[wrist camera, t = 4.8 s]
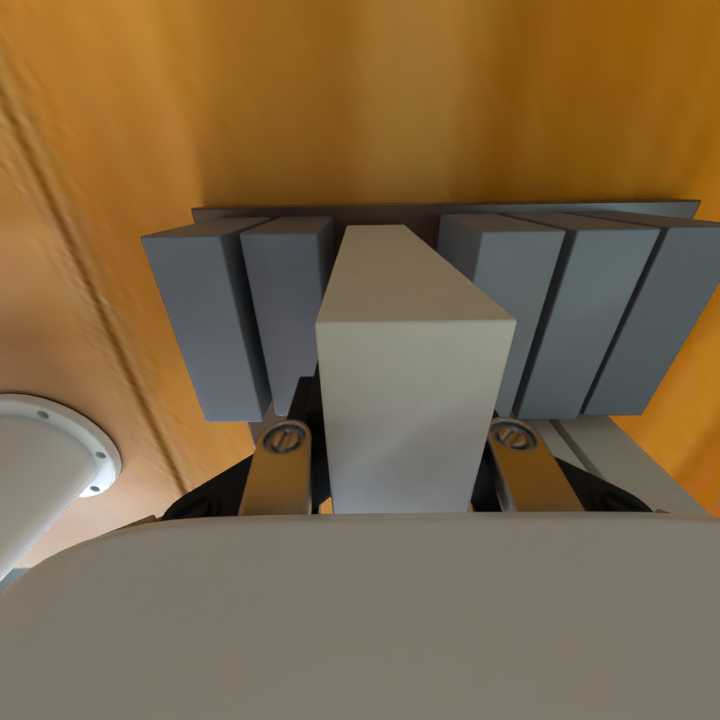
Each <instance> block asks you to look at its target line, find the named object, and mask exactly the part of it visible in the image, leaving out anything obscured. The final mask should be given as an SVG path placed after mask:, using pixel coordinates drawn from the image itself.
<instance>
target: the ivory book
mask: <svg viewBox="0 0 720 720" xmlns="http://www.w3.org/2000/svg"><path fill="white" fill-rule="evenodd" d="M516 323H517V322H516V319H515V318H514V317H512V316H511V315H510V314H509V313H508V312H506V311H505V310H504V309H503V308H502V307H501V306H499V305H498V304H497V303H496V302H495V301H493V300H492V299H491V298H490V297H489V296H488V295H486V294H485V293H484V292H483V291H482V290H480V289H479V288H478V287H477V286H476V285H475V284H473V283H472V282H471V281H470V280H469V279H467V278H466V277H465V276H464V275H463V274H462V273H460V272H459V271H458V270H457V269H456V268H454V267H453V266H452V265H451V264H450V263H449V262H447V261H446V260H445V259H444V258H443V257H441V256H440V255H439V254H438V253H437V252H436V251H434V250H433V249H432V248H431V247H430V246H428V245H427V244H426V243H425V242H424V241H423V240H421V239H420V238H419V237H418V236H417V235H415V234H414V233H413V232H412V231H411V230H410V229H408V228H407V227H406V226H405V225H353V226H347V227H346V230H345V234H344V237H343V240H342V243H341V246H340V249H339V252H338V255H337V258H336V261H335V264H334V267H333V271H332V274H331V277H330V280H329V283H328V286H327V289H326V292H325V295H324V298H323V301H322V304H321V307H320V311H319V314H318V317H317V320H316V323H315V332H316V343H317V353H318V363H319V374H320V384H321V395H322V405H323V415H324V426H325V436H326V446H327V457H328V467H329V477H330V488H331V498H332V508H333V514H365V513H446V512H468V508H469V504H470V500H471V496H472V493H473V489H474V485H475V481H476V477H477V473H478V470H479V466H480V462H481V458H482V454H483V450H484V446H485V443H486V439H487V435H488V431H489V427H490V423H491V420H492V416H493V412H494V408H495V404H496V400H497V397H498V393H499V389H500V385H501V381H502V377H503V373H504V370H505V366H506V362H507V358H508V354H509V350H510V347H511V343H512V339H513V335H514V331H515V327H516Z"/></svg>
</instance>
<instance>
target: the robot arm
mask: <svg viewBox="0 0 720 720" xmlns="http://www.w3.org/2000/svg"><path fill="white" fill-rule="evenodd" d="M121 465H122V462H121V458H120V454H119V452H118V450H117V448H116V447H115V445H114V443H113V442H112V441H111V440H110V438H109V437H108V436H107V435H106V434H105V433H104V432H103V431H102V430H101V429H100V428H99V427H98V426H97V425H95V424H94V423H93V422H91V421H90V420H89V419H87V418H86V417H84V416H82V415H81V414H79V413H77V412H75V411H74V410H72V409H70V408H68V407H65V406H63V405H61V404H59V403H56V402H53V401H50V400H47V399H44V398H40V397H35V396H30V395H23V394H0V582H1V581H2V579H3V578H4V577H5V576H6V575H7V574H8V573H9V572H10V571H11V570H12V569H13V567H14V566H15V565H16V564H17V563H18V562H19V561H20V560H21V559H22V558H23V557H24V555H25V554H26V553H27V552H28V551H29V550H30V549H31V548H32V547H33V546H34V545H35V544H36V542H37V541H38V540H39V539H40V538H41V537H42V536H43V535H44V534H45V533H46V532H47V530H48V529H49V528H50V527H51V526H52V525H53V524H54V523H55V522H56V521H57V520H58V518H59V517H60V516H61V515H62V514H63V513H64V512H65V511H66V510H67V509H68V508H69V506H70V505H71V504H72V503H73V502H74V501H75V500H76V499H77V498H79V497H89V496H93V495H97V494H100V493H102V492H104V491H106V490H107V489H108V488H109V487H111V485H112V484H113V483H114V482H115V481H116V479H117V478H118V477H119V475H120V472H121ZM329 497H331V488H330V477H329V467H328V457H327V446H326V436H325V426H324V415H323V405H322V395H321V384H320V374H319V363H318V360H317V364H316V369H315V373H314V376H301V377H300V378H299V380H298V383H297V387H296V390H295V393H294V396H293V399H292V403H291V406H290V409H289V412H288V415H287V419H286V420H282V421H278V422H275V423H273V424H271V425H269V426H268V427H266V428H265V429H264V430H263V431H262V432H261V433H260V435H259V437H258V439H257V443H256V447H255V451H254V454H253V455H251V456H249V457H248V458H246V459H244V460H243V461H241V462H239V463H237V464H236V465H234V466H232V467H231V468H229V469H227V470H226V471H224V472H222V473H221V474H219V475H217V476H216V477H214V478H212V479H211V480H209V481H207V482H206V483H204V484H202V485H201V486H199V487H197V488H196V489H194V490H192V491H191V492H189V493H187V494H186V495H184V496H182V497H181V498H180V499H178V500H177V501H176V502H174V503H173V504H172V505H171V506H170V507H169V508H168V510H167V511H166V512H165V514H164V515H163V516H162V517H159V518H157V519H156V517H155V515H151V516H149V517H146V518H144V519H141V520H139V521H136V522H134V523H131V524H128V525H126V526H123V527H121V528H118V529H116V530H113V531H111V532H108V533H106V534H103V535H101V536H98V537H95V538H93V539H90V540H87V541H84V542H81V543H79V544H76V545H74V546H72V547H69V548H67V549H65V550H63V551H60V552H59V553H57V554H55V555H53V556H51V557H48V558H47V559H45V560H44V561H42V562H40V563H39V564H37V565H36V566H34V567H32V568H31V569H30V570H28V571H27V572H26V573H24V574H23V575H22V576H21V577H19V578H18V579H17V580H16V581H14V582H13V583H12V584H11V585H10V586H8V587H7V588H6V589H5V590H4V591H3V592H2V593H1V594H0V720H720V518H715V517H706V516H697V515H688V514H673V513H670V512H667V511H664V510H661V509H657V510H656V511H655V513H654V512H653V511H652V510H651V509H650V507H649V506H648V505H646V504H645V503H644V502H643V501H641V500H640V499H639V498H638V497H636V496H634V495H632V494H631V493H629V492H627V491H625V490H623V489H621V488H619V487H617V486H615V485H613V484H611V483H609V482H607V481H605V480H603V479H601V478H599V477H597V476H595V475H592V474H590V473H588V472H586V471H584V470H582V469H580V468H578V467H576V466H574V465H572V464H570V463H568V462H566V461H564V460H562V459H560V458H557V457H555V456H553V455H552V453H551V451H550V450H549V448H548V446H547V444H546V443H545V441H544V439H543V438H542V436H541V435H540V433H539V432H538V431H537V430H536V429H535V428H534V427H532V426H531V425H530V424H528V423H526V422H524V421H522V420H519V419H516V418H512V417H499V415H498V413H497V412H496V410H495V408H494V412H493V416H492V420H491V423H490V427H489V431H488V435H487V439H486V443H485V446H484V450H483V454H482V458H481V462H480V466H479V470H478V473H477V477H476V481H475V485H474V489H473V493H472V496H471V500H470V504H469V508H468V512H446V513H365V514H321V504H322V503H323V502H324V501H325V500H327V499H328V498H329Z"/></svg>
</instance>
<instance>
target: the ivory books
mask: <svg viewBox="0 0 720 720" xmlns="http://www.w3.org/2000/svg"><path fill="white" fill-rule="evenodd" d="M509 417H512V418H516V417H515V415H514V413H513V412H512V410H511V413H510V416H509ZM516 419H517V418H516ZM519 420H522V421H524V422H526V423H528V424H530V425H531V426H532V427H534V428H535V429H536V430H537V431H538V432H539V433H540V435H541V436H542V438H543V439H544V441H545V443H546V444H547V446H548V448H549V450H550V451H551V453H552V455H553V456H555V457H557V458H560V459H562V460H564V461H566V462H568V463H570V464H572V465H574V466H576V467H578V468H580V469H582V470H584V471H586V472H588V473H590V474H592V475H595V476H597V477H599V478H601V479H603V480H605V481H607V482H609V483H611V484H613V485H615V486H617V487H619V488H621V489H623V490H625V491H627V492H629V493H631V494H632V495H634V496H636V497H638V498H639V499H640V500H641V501H643V502H644V503H645V504H646V505H648V506H649V507H650V509H651V510H652V511H653V512H654V513H655V511H656V510H657V509H661V510H664V511H667V512H670V513H673V514H688V515H697V516H706V517H712V516H711V515H710V514H709V513H708V512H707V511H706V510H705V509H704V508H703V507H702V506H701V505H700V504H699V503H698V502H697V501H696V500H695V499H694V498H693V497H692V496H691V495H690V494H689V493H688V492H687V491H685V490H684V489H683V488H682V487H681V486H680V485H679V484H678V483H677V482H676V481H675V480H674V479H673V478H672V477H671V476H670V475H669V474H668V473H667V472H666V471H665V470H664V469H663V468H662V467H661V466H659V465H658V464H657V463H656V462H655V461H654V460H653V459H652V458H651V457H650V456H649V455H648V454H647V453H646V452H645V451H644V450H643V449H642V448H641V447H640V446H639V445H638V444H637V443H636V442H635V441H634V440H632V439H631V438H630V437H629V436H628V435H627V434H626V433H625V432H624V431H623V430H622V429H621V428H620V427H619V426H618V425H617V424H616V423H615V422H614V421H613V420H612V419H611V418H610V417H609V416H608V415H582V414H581V413H580V412H579V413H578V415H577V417H576V419H519Z"/></svg>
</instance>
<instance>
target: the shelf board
mask: <svg viewBox="0 0 720 720" xmlns="http://www.w3.org/2000/svg"><path fill="white" fill-rule="evenodd" d="M700 203H701V200H692V199H634V200H573V201H512V202H451V203H390V204H329V205H268V206H207V207H197V208H192V209H191V210H192V214H193V218H194V222H195V224H196V223H200V222H204V221H208V220H213V219H217V218H239V217H271V220H275V219H277V218H280V217H305V216H332V217H333V225H334V243H335V261H336V258H337V255H338V252H339V249H340V246H341V243H342V240H343V237H344V234H345V230H346V227H347V226H353V225H405V226H406V227H407V228H408V229H410V230H411V231H412V232H413V233H414V234H415V235H417V236H418V237H419V238H420V239H421V240H423V241H424V242H425V243H426V244H427V245H428V246H430V247H431V248H432V249H433V250H434V251H436V252H437V245H438V236H439V226H440V217H441V215H442V214H498V215H502V216H504V214H506V213H564V214H568V213H570V212H632V213H641V214H650V215H659V216H668V217H677V218H686V219H693V217H694V215H695V213H696V211H697V209H698V207H699V205H700ZM286 419H287V415H276V413H275V408H274V403H273V399H272V402H271V404H270V406H269V408H268V411H267V413H266V415H265V418H264V420H263V421H262V422H248V424H249V428H250V432H251V436H252V439H253V443H254V447H256V443H257V439H258V437H259V435H260V433H261V432H262V431H263V430H264V429H265V428H266V427H268V426H269V425H271V424H273V423H275V422H278V421H282V420H286Z"/></svg>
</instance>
